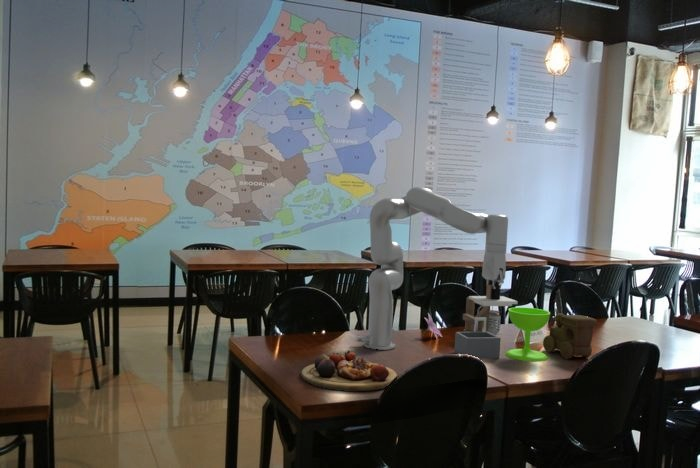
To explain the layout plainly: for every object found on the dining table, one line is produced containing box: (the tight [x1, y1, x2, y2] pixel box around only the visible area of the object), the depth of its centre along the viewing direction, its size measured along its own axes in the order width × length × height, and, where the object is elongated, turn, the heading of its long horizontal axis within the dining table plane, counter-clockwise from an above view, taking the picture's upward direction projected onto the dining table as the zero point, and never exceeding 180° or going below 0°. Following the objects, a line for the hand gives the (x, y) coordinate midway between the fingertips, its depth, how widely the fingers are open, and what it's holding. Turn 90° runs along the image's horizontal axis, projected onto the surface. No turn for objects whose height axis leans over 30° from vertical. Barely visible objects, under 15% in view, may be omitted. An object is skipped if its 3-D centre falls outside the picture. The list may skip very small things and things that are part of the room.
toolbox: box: [454, 316, 501, 360], centre depth 249 cm, size 14×14×13 cm
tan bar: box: [462, 313, 484, 327], centre depth 264 cm, size 2×16×2 cm, turn 14°
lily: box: [421, 312, 443, 340], centre depth 276 cm, size 12×12×10 cm
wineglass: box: [505, 306, 551, 362], centre depth 249 cm, size 16×16×18 cm
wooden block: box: [462, 296, 491, 332], centre depth 279 cm, size 4×11×18 cm, turn 110°
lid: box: [468, 284, 518, 307], centre depth 231 cm, size 14×11×7 cm
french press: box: [476, 279, 502, 335], centre depth 292 cm, size 10×12×25 cm
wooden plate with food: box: [300, 350, 398, 392], centre depth 210 cm, size 32×32×8 cm
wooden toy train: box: [542, 312, 598, 360], centre depth 254 cm, size 20×11×17 cm, turn 21°
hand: (492, 298), depth 232 cm, fingers closed on lid, 3 cm apart
